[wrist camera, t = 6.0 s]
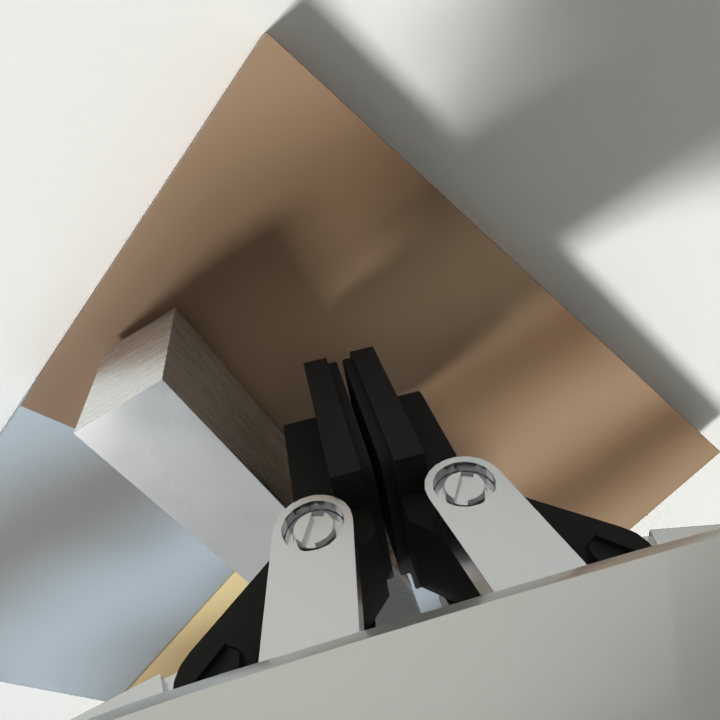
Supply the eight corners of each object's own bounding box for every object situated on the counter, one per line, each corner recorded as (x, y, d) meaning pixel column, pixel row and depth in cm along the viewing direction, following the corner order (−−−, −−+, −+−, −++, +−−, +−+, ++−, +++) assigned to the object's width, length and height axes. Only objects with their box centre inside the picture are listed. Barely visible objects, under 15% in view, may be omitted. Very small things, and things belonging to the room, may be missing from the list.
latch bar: (409, 550, 17) (442, 637, 14) (323, 598, 17) (341, 693, 15) (202, 290, 11) (196, 358, 9) (79, 366, 12) (39, 453, 9)
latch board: (694, 430, 20) (722, 453, 18) (364, 722, 24) (371, 753, 23) (262, 34, 11) (267, 32, 10) (-120, 615, 16) (-146, 658, 14)
